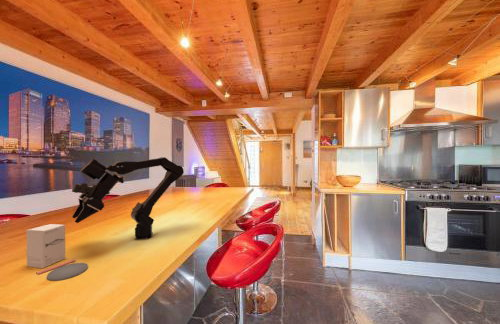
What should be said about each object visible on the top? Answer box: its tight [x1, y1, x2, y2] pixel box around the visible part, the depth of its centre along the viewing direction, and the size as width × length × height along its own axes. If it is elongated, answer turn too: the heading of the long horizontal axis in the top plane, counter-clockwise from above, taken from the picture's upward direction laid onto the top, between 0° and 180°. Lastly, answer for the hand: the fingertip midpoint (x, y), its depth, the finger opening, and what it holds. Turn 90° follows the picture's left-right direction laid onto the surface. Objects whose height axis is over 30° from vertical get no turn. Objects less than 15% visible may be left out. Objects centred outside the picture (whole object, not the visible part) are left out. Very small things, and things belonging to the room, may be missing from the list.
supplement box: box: [26, 223, 66, 269], centre depth 75 cm, size 7×7×13 cm
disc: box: [46, 262, 89, 282], centre depth 69 cm, size 10×10×1 cm
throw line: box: [36, 258, 77, 275], centre depth 72 cm, size 10×2×1 cm, turn 153°
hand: (74, 220), depth 83 cm, fingers open, 9 cm apart
